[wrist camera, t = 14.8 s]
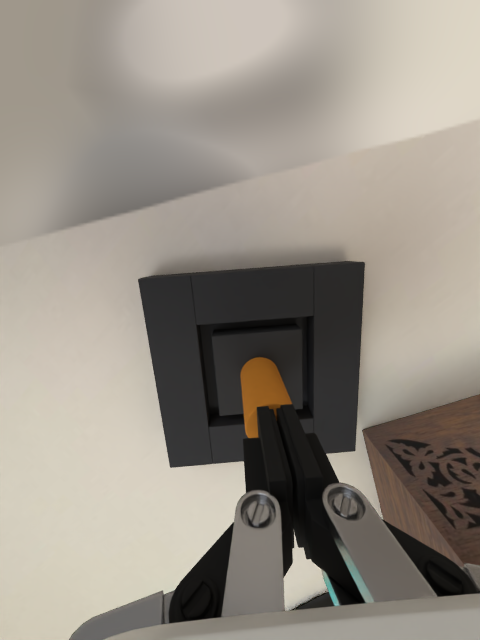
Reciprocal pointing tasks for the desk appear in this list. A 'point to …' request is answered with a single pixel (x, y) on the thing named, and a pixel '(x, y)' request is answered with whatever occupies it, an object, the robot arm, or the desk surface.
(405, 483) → the tissue box cover
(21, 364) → the desk surface
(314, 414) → the base pad
